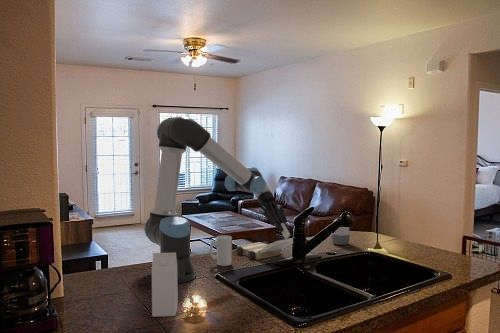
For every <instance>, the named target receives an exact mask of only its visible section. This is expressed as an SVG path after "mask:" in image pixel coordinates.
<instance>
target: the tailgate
mask: <svg viewBox="0 0 500 333" xmlns="http://www.w3.org/2000/svg"><path fill="white" fill-rule="evenodd" d="M293 238H294V237H291V238H287V239H285V238H284V239H281V240H276V241H274V242H271V243H270V244H268V246H266V247H265V248H263V249H261V250H259V251H258V253H264V252H269V251H274V250H279V249H281V250H282V249H284V248H285V247H288V246H289V245H292V244H293V243H294V242H293Z"/></svg>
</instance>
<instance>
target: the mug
mask: <svg viewBox="0 0 500 333" xmlns="http://www.w3.org/2000/svg"><path fill="white" fill-rule="evenodd" d="M232 238H233V237H232V236H231V235H218V236H216V240H212V241H211V242H210V245H209V254H210V256H211V259H212V260H216V265H217V266H220V267H228V266H230V265H232V257H233V256H232V253H233V252H232V248H233V246H232V245H233V239H232ZM214 245H216V255H215V254H214V252H213V247H214Z"/></svg>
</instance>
